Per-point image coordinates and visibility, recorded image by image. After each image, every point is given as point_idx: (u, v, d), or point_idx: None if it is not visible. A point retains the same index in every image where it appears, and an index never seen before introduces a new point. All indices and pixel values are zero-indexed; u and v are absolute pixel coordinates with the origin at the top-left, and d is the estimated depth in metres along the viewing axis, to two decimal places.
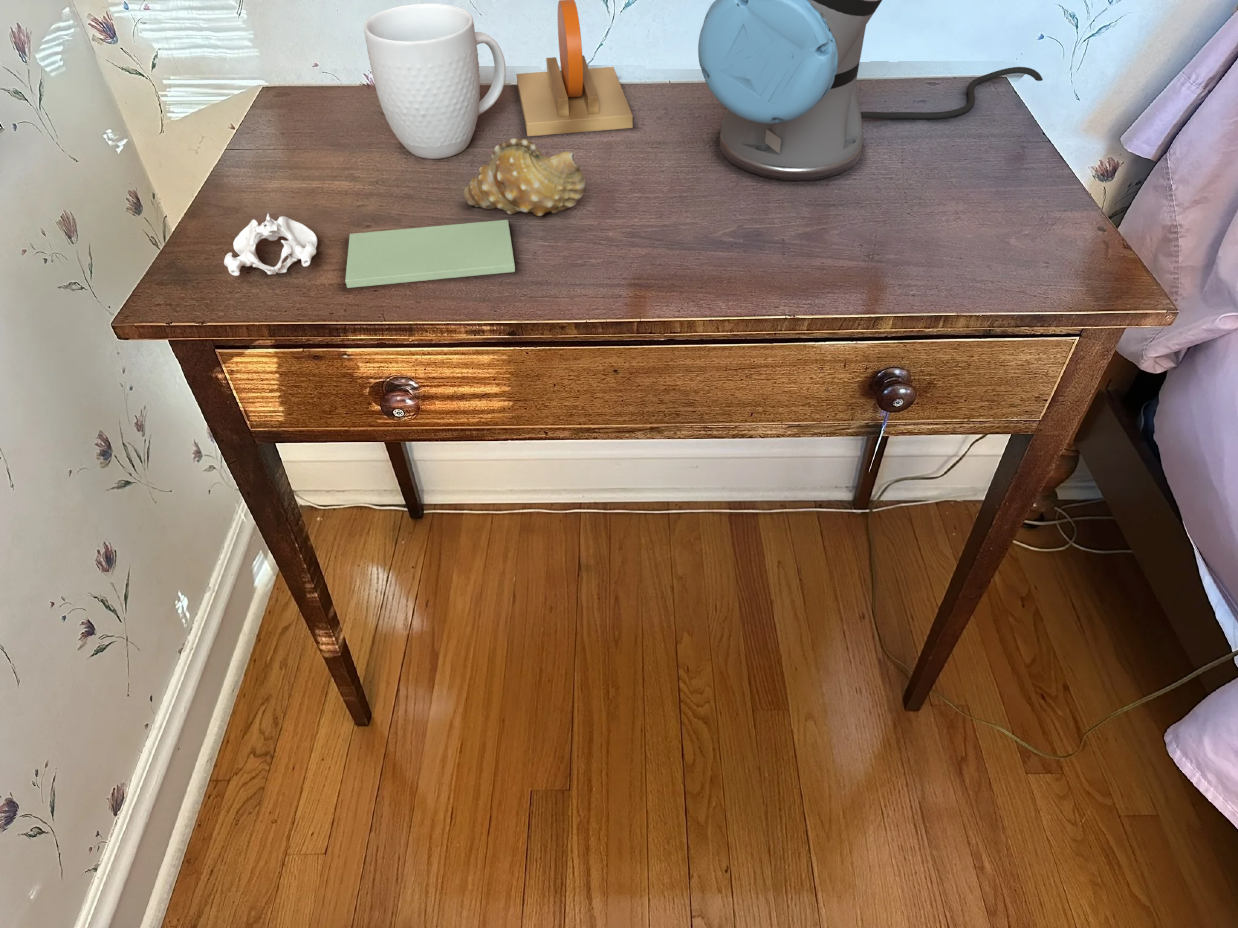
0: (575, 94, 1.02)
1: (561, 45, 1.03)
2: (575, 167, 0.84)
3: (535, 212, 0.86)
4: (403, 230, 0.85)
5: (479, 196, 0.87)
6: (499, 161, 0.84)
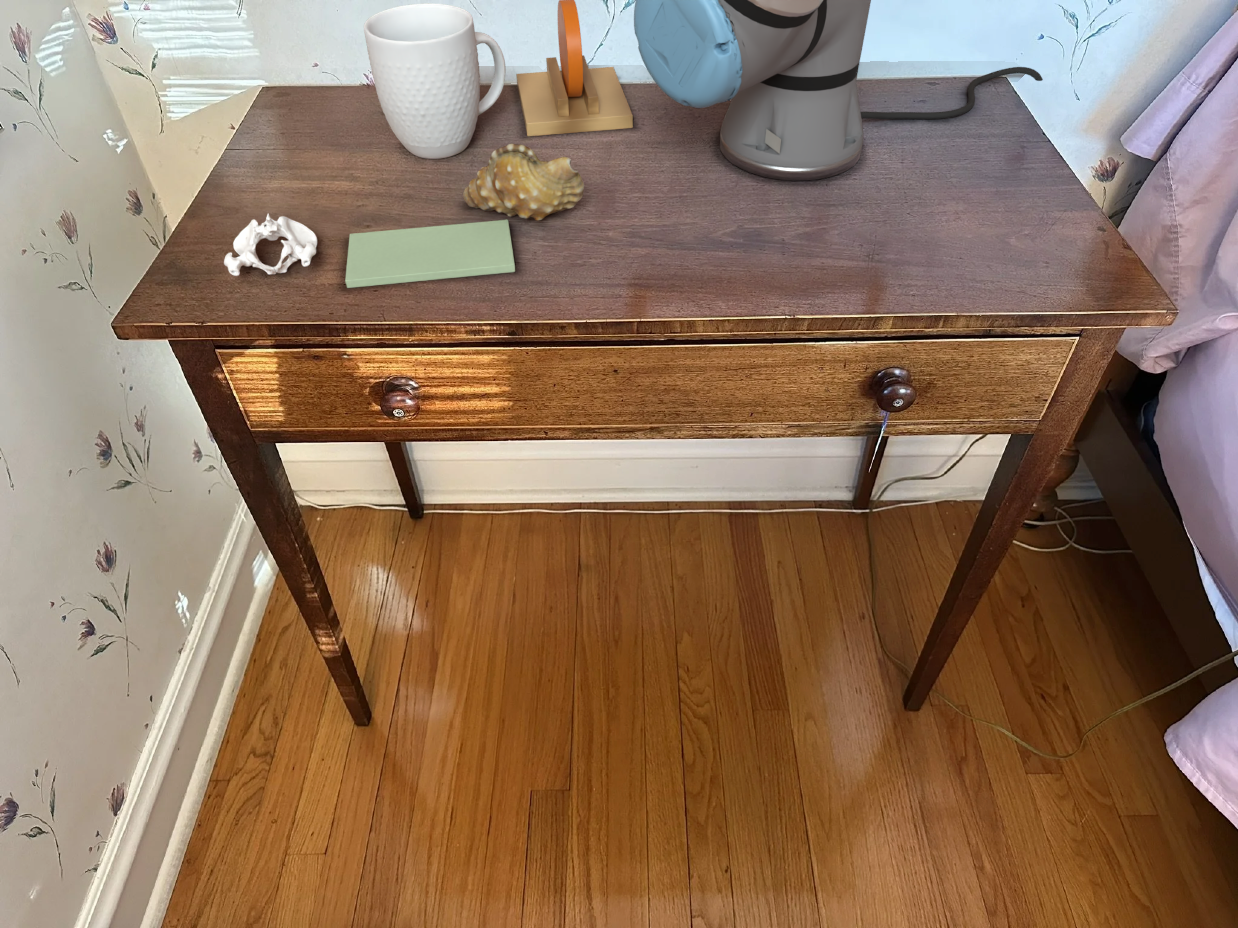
0: (575, 94, 1.02)
1: (561, 45, 1.03)
2: (573, 173, 0.83)
3: (535, 217, 0.86)
4: (403, 230, 0.85)
5: (479, 200, 0.87)
6: (497, 169, 0.83)
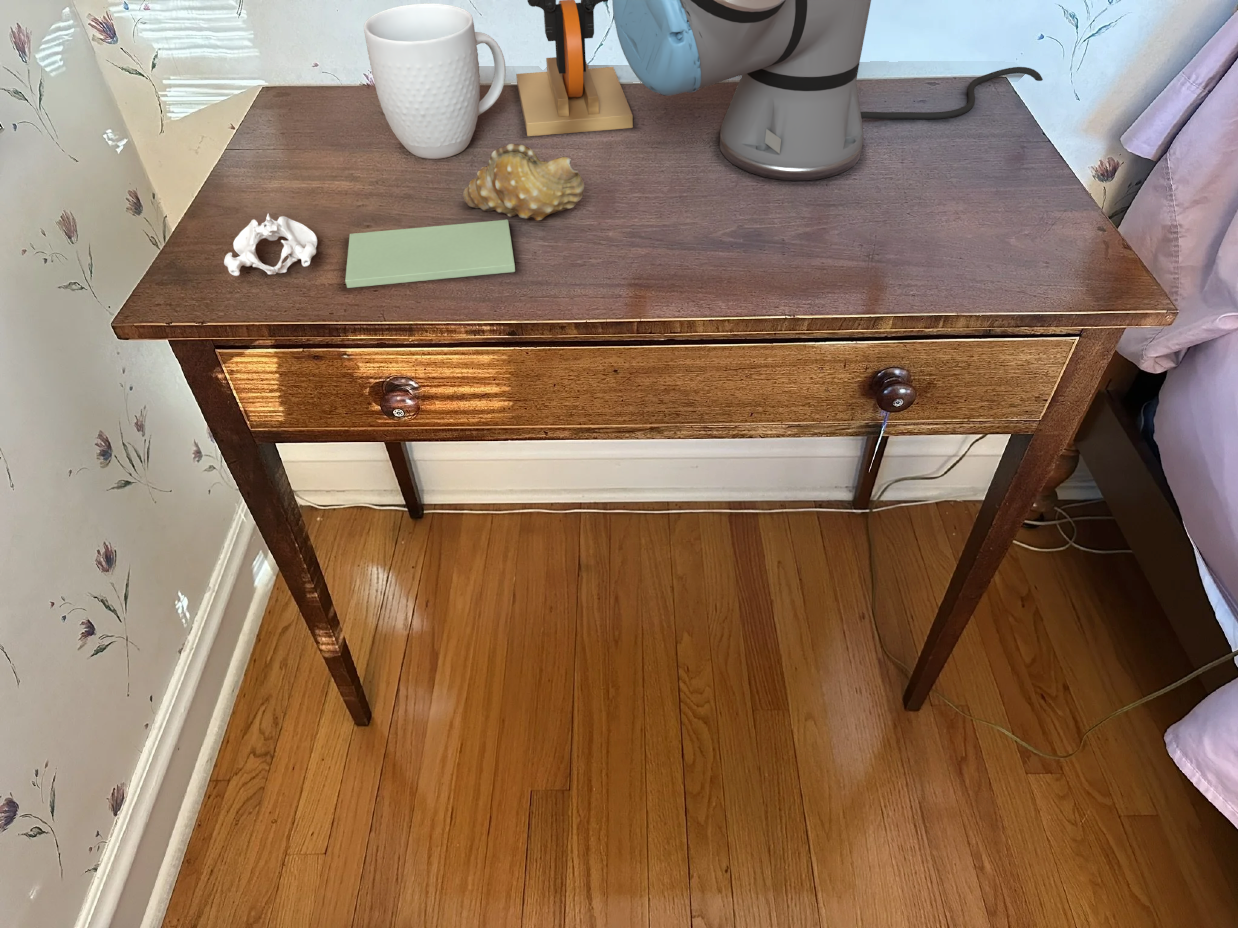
0: (575, 94, 1.02)
1: None
2: (573, 173, 0.83)
3: (535, 217, 0.86)
4: (403, 230, 0.85)
5: (479, 200, 0.87)
6: (497, 169, 0.83)
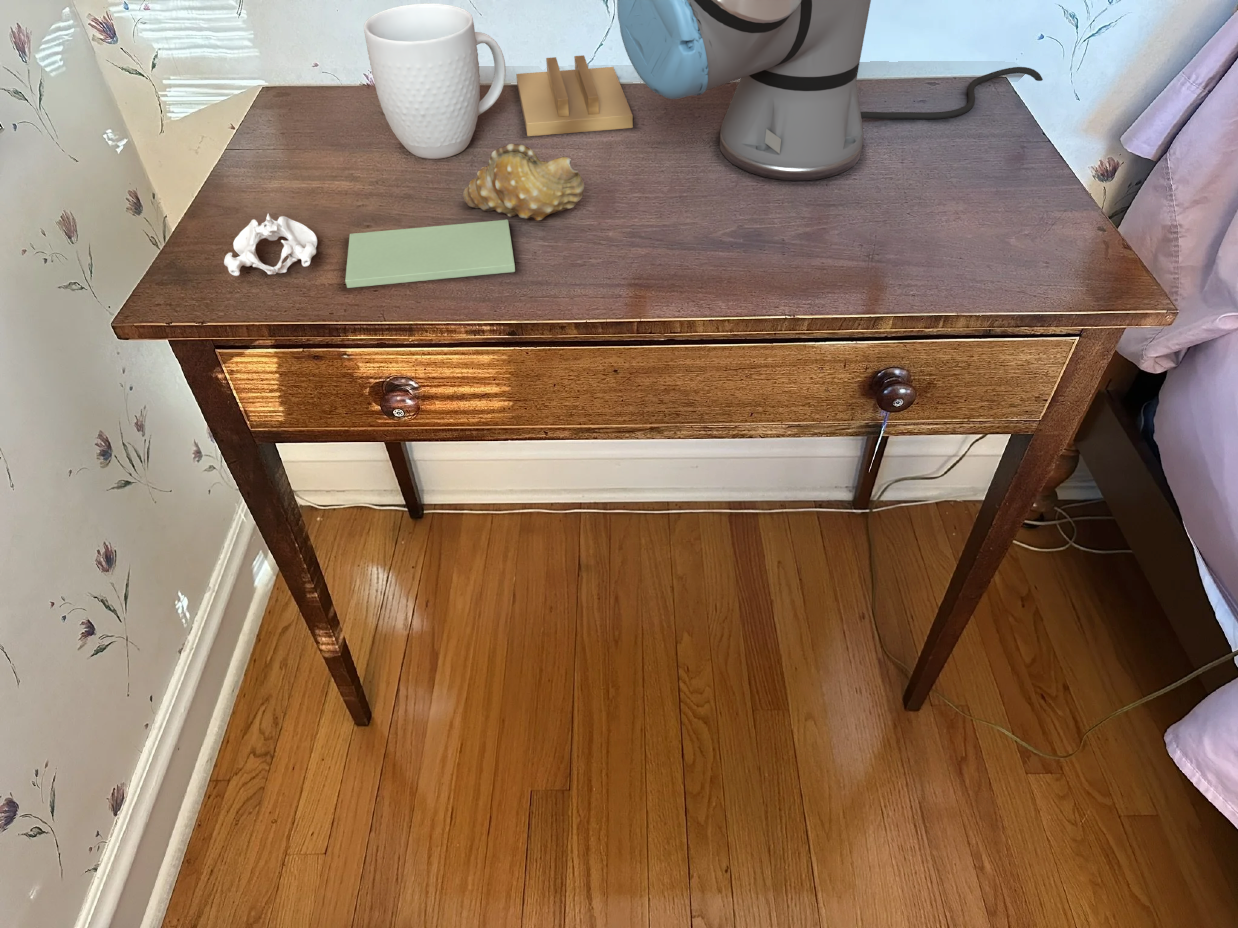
0: None
1: None
2: (573, 173, 0.83)
3: (535, 217, 0.86)
4: (403, 230, 0.85)
5: (479, 200, 0.87)
6: (497, 169, 0.83)
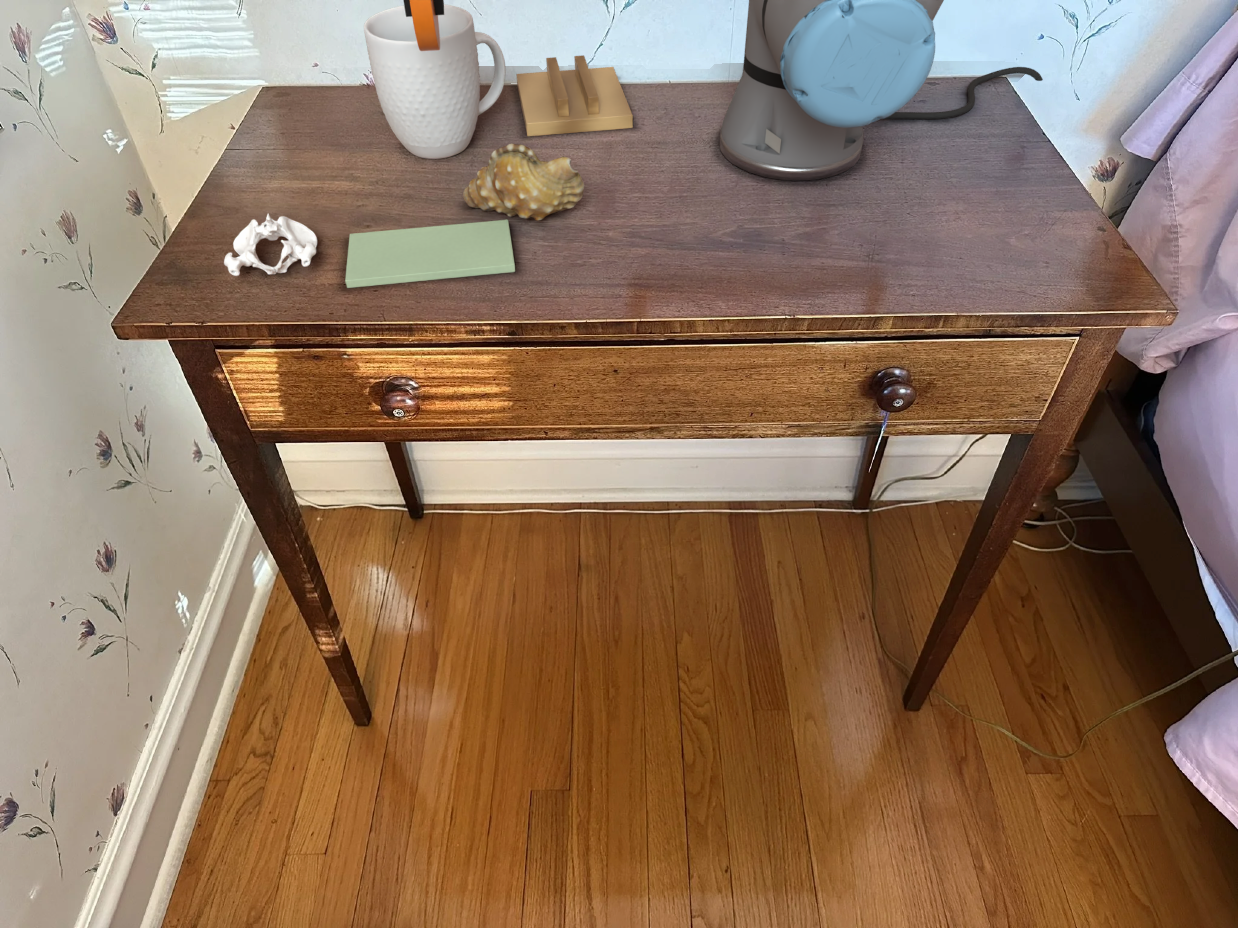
0: (428, 46, 0.72)
1: None
2: (573, 173, 0.83)
3: (535, 217, 0.86)
4: (403, 230, 0.85)
5: (479, 200, 0.87)
6: (497, 169, 0.83)
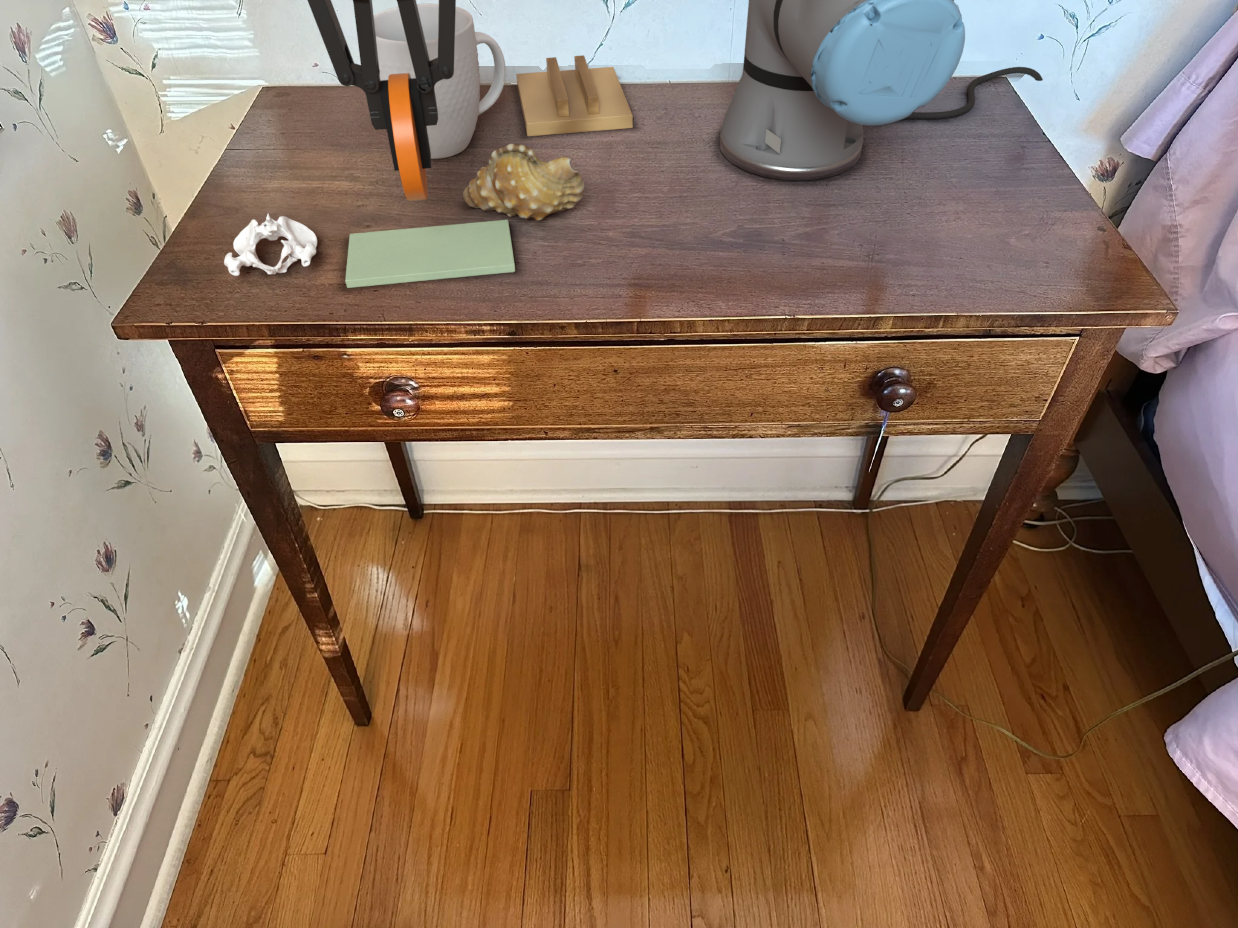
0: (416, 198, 0.76)
1: None
2: (573, 173, 0.83)
3: (535, 217, 0.86)
4: (403, 230, 0.85)
5: (479, 200, 0.87)
6: (497, 169, 0.83)
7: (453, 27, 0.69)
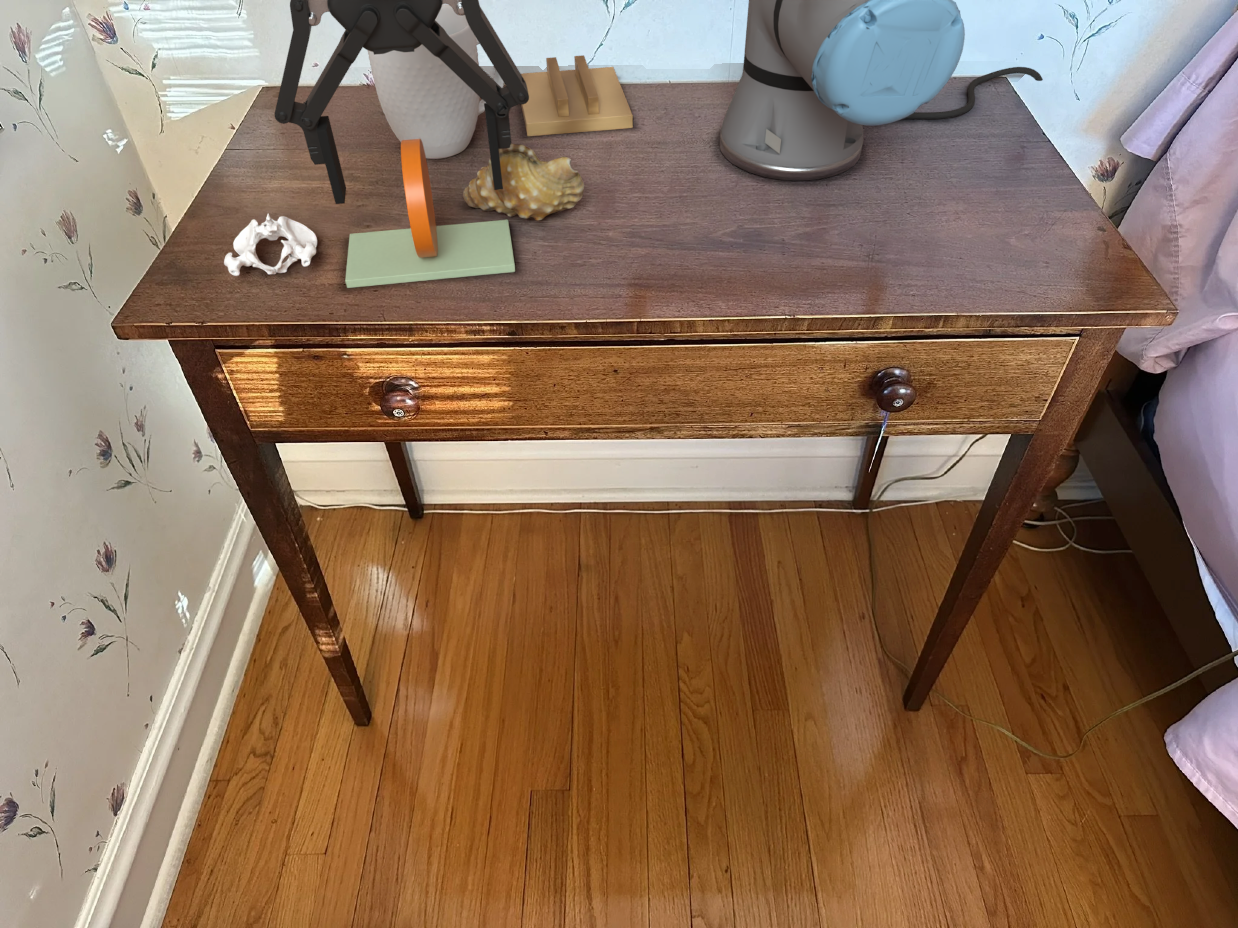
0: (427, 256, 0.80)
1: None
2: (573, 173, 0.83)
3: (535, 217, 0.86)
4: (403, 230, 0.85)
5: (479, 200, 0.87)
6: None
7: (504, 57, 0.71)
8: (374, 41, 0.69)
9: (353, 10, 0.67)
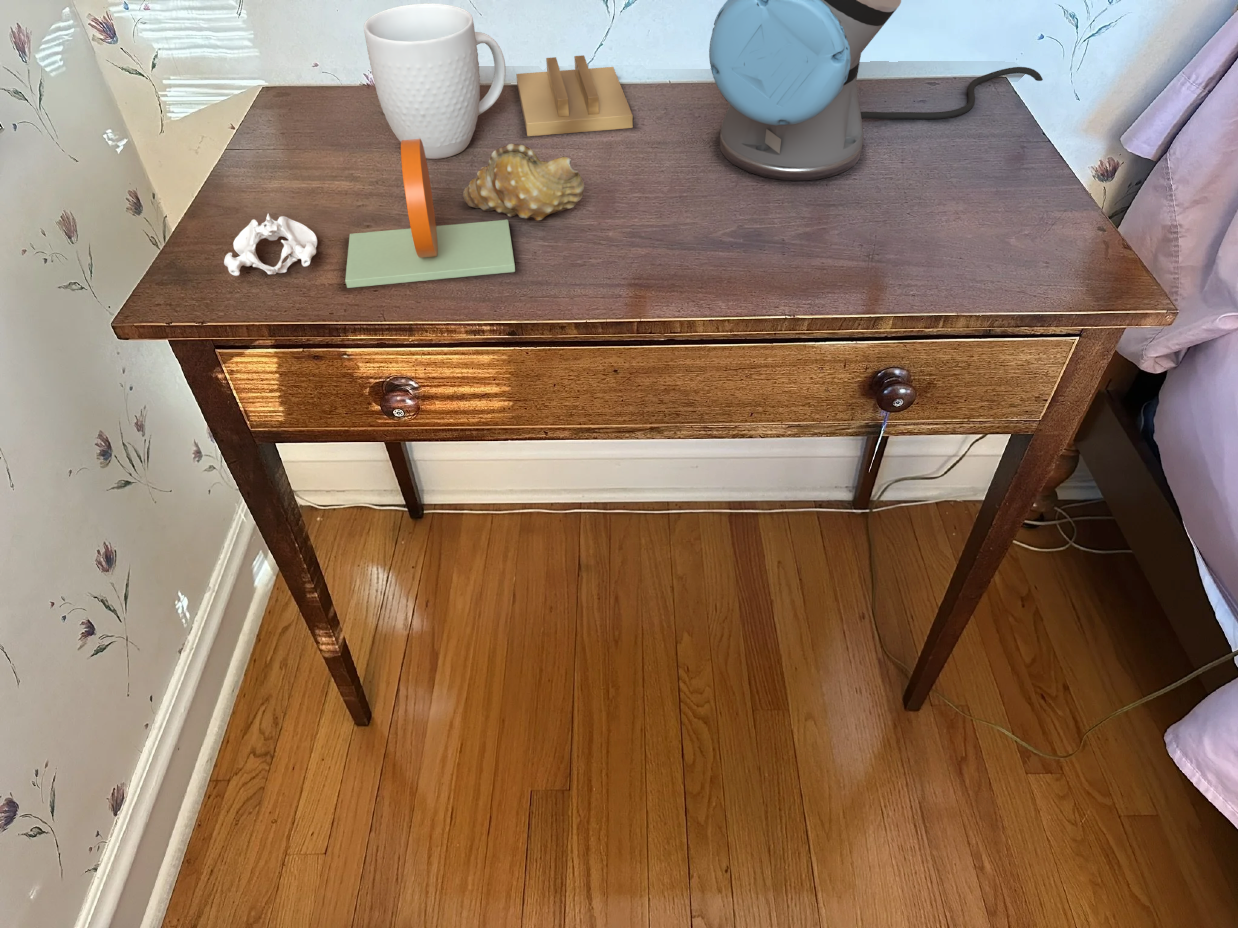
0: (427, 256, 0.80)
1: None
2: (573, 173, 0.83)
3: (535, 217, 0.86)
4: (403, 230, 0.85)
5: (479, 200, 0.87)
6: (497, 169, 0.83)
7: None
8: None
9: None
